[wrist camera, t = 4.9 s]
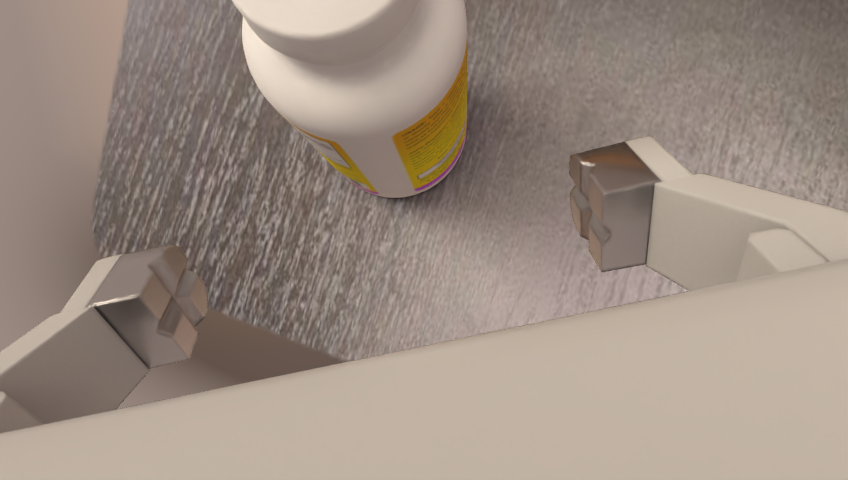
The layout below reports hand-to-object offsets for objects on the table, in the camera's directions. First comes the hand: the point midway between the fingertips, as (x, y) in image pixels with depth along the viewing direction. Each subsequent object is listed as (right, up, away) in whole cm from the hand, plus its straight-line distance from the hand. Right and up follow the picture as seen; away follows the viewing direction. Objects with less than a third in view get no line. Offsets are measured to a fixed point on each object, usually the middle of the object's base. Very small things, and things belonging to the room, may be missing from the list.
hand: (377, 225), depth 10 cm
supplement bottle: (0, +5, +14) cm, 14 cm away
